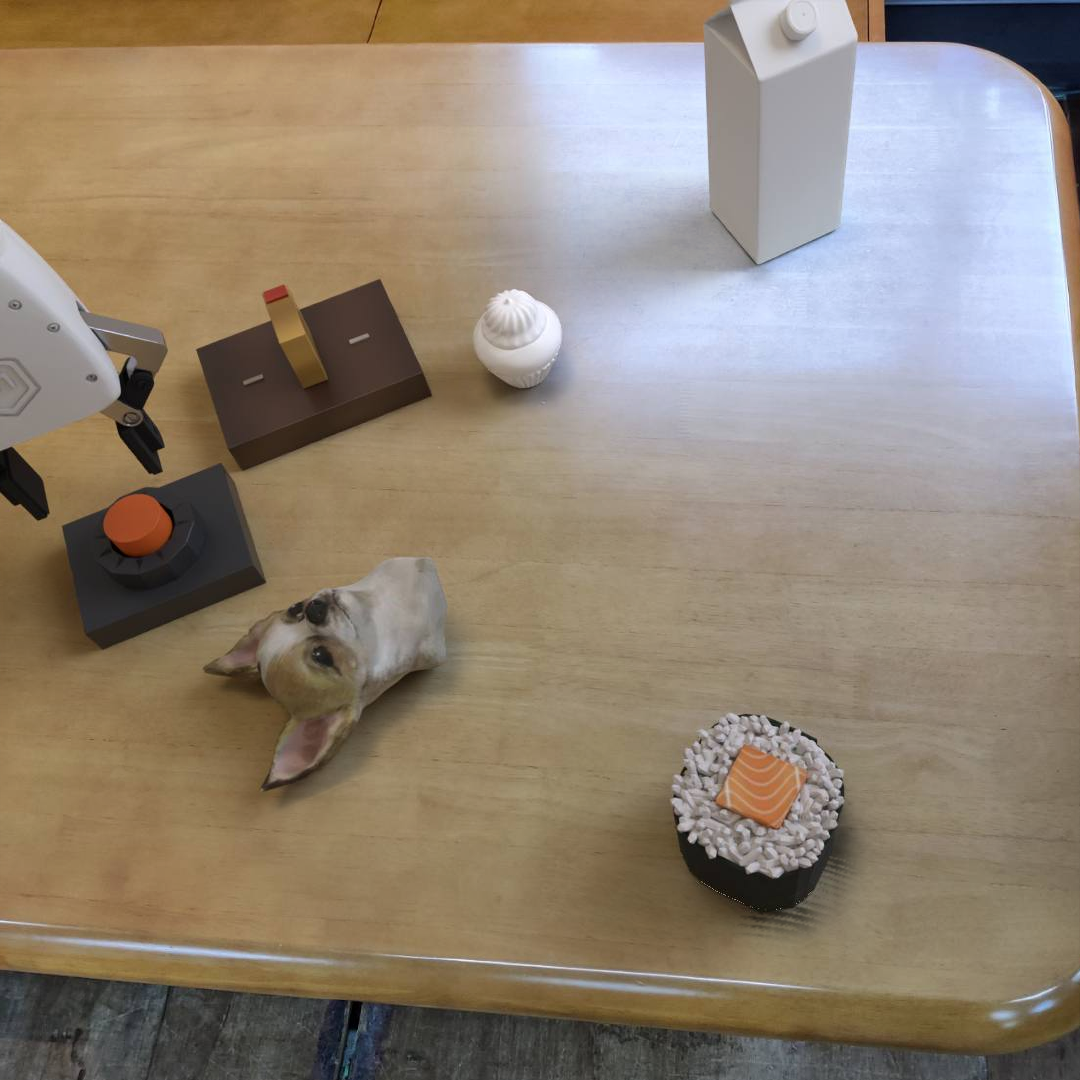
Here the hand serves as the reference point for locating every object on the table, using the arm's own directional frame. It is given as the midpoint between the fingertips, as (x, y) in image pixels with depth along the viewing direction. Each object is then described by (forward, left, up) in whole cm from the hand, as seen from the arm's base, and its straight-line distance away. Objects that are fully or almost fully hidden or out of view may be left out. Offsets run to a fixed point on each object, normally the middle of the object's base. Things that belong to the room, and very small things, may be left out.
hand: (96, 477), depth 64 cm
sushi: (+36, -22, -10) cm, 43 cm away
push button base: (0, 0, -10) cm, 10 cm away
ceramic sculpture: (+13, -10, -10) cm, 19 cm away
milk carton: (+43, +25, -10) cm, 51 cm away
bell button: (0, 0, -6) cm, 6 cm away
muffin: (+24, +13, -10) cm, 29 cm away
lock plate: (+9, +14, -10) cm, 19 cm away
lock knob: (+9, +14, -7) cm, 18 cm away
